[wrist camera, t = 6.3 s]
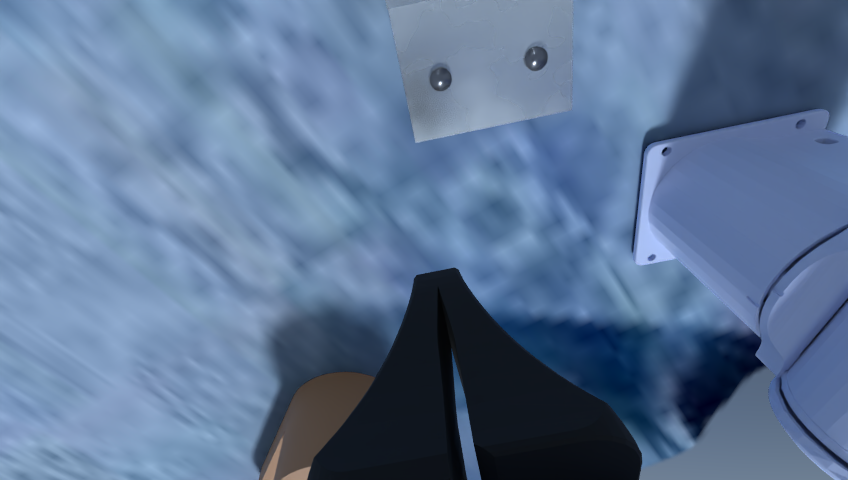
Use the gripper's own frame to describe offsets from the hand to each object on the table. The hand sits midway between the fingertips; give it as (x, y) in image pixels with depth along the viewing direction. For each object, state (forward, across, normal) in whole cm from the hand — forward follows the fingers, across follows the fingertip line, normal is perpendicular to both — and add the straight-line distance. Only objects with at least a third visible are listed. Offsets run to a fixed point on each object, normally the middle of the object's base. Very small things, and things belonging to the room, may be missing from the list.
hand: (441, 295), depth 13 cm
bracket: (+11, +12, +22) cm, 28 cm away
